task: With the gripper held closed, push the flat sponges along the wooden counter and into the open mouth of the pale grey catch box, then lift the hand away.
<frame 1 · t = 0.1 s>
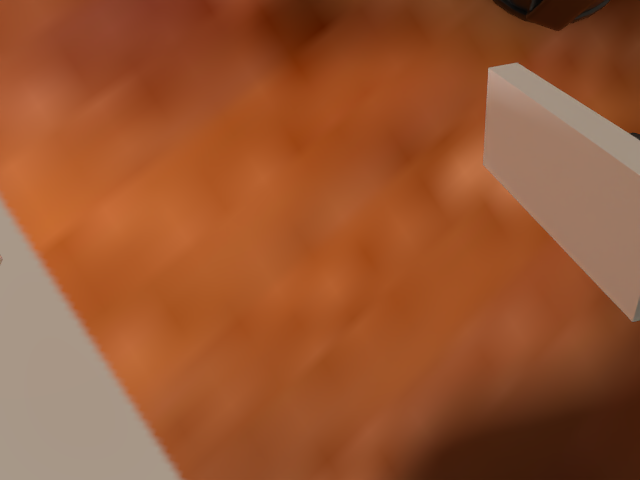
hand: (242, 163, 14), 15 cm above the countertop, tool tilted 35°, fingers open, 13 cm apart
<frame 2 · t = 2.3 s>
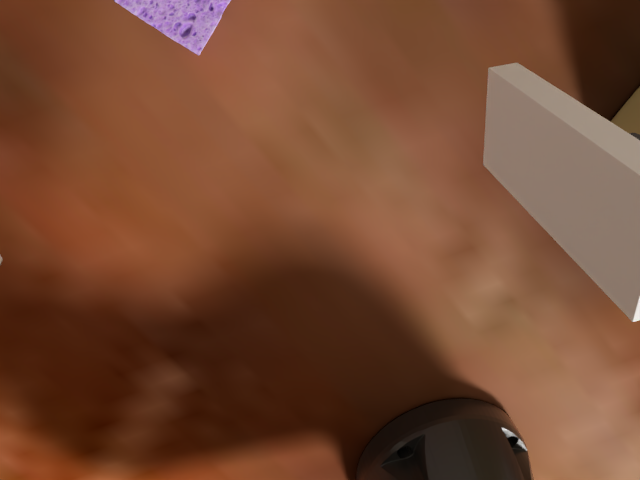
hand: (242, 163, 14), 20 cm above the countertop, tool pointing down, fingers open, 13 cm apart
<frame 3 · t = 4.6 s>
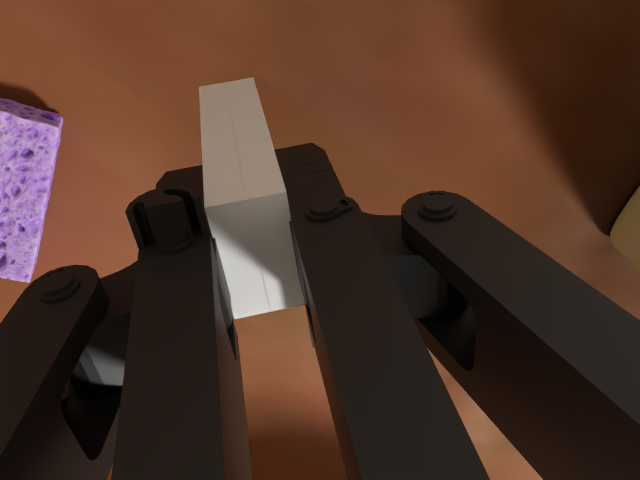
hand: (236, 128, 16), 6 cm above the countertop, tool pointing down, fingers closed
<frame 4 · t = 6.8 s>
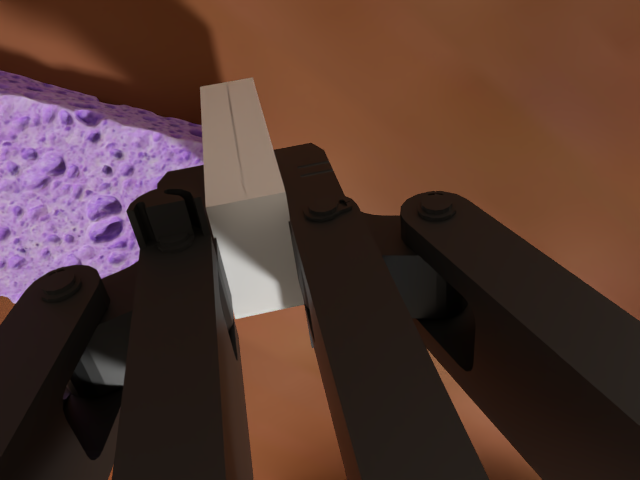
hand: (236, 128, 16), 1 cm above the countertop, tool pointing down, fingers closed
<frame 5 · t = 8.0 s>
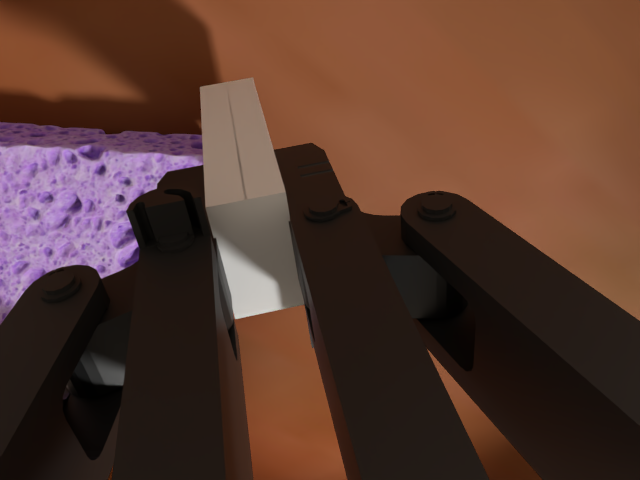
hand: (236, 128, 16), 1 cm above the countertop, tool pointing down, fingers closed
sponges: (14, 217, 18), on the countertop, touching gripper
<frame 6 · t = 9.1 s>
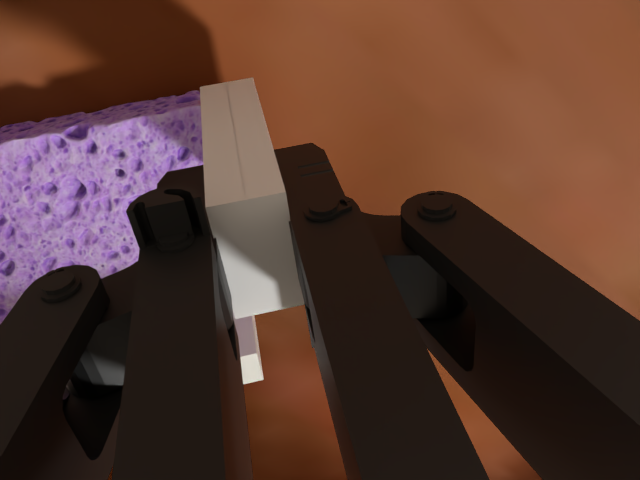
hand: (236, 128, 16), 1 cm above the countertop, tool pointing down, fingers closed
sponges: (37, 219, 19), on the countertop, touching gripper
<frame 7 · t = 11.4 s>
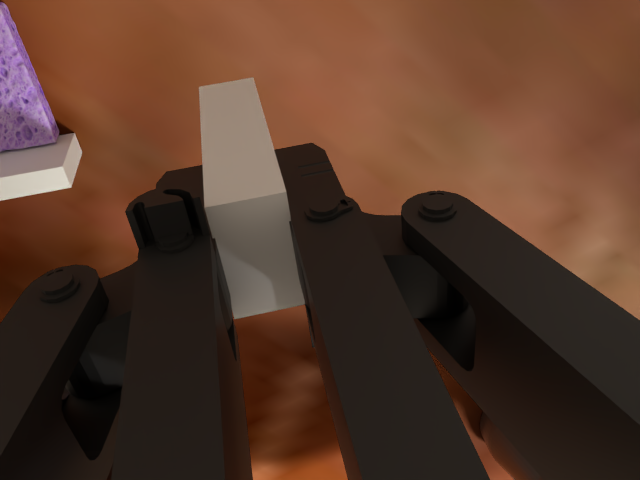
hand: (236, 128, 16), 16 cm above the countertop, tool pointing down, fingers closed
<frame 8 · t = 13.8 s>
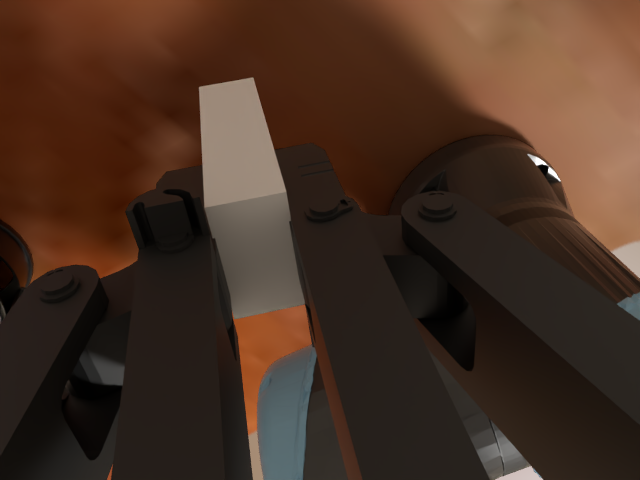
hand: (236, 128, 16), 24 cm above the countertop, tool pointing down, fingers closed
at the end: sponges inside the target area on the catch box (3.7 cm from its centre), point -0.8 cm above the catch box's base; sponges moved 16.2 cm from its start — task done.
